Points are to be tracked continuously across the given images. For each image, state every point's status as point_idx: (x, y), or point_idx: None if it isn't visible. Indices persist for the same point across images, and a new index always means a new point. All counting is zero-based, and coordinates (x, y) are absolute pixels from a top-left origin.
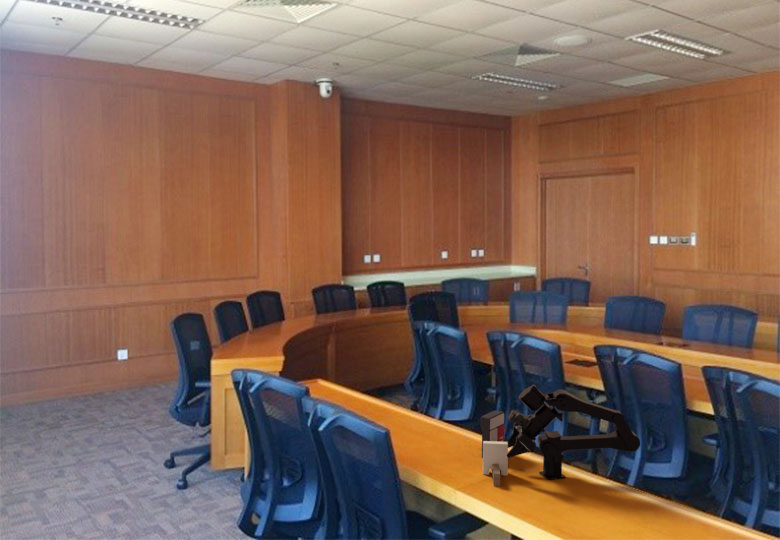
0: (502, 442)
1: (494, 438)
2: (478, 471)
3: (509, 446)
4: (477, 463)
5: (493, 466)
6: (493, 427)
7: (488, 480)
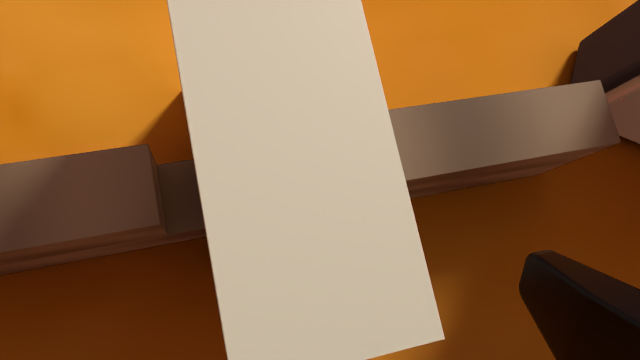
0: (344, 215)
1: None
2: None
3: (556, 342)
4: (446, 20)
5: (44, 166)
6: None
7: (16, 158)
